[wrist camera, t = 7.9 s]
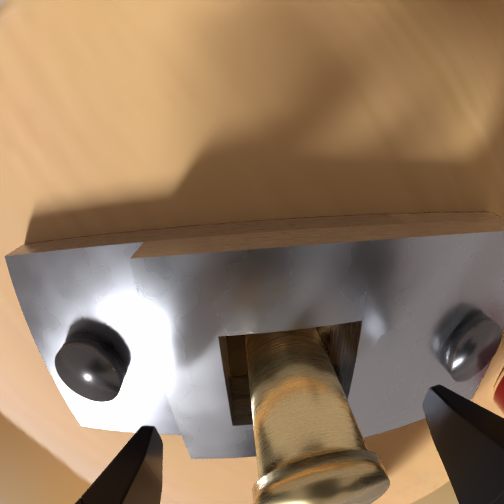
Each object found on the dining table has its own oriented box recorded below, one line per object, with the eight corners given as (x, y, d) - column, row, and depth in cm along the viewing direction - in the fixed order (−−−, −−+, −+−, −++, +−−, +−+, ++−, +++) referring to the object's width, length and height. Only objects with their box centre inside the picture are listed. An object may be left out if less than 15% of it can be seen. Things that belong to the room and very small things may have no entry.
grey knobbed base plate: (448, 368, 15) (480, 408, 11) (88, 407, 14) (68, 459, 10) (488, 211, 11) (545, 236, 8) (23, 244, 10) (-33, 281, 7)
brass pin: (315, 358, 13) (371, 509, 6) (242, 366, 13) (257, 531, 6) (320, 295, 12) (407, 459, 5) (236, 303, 12) (250, 494, 4)
